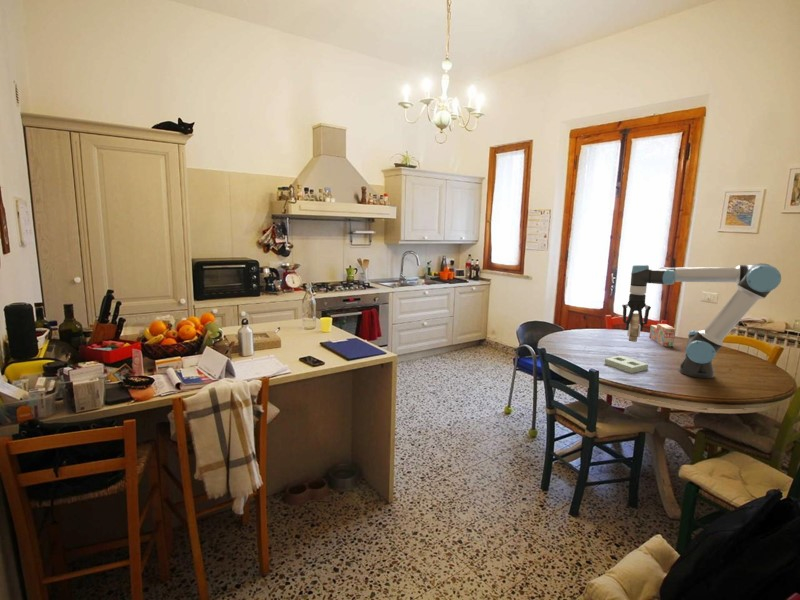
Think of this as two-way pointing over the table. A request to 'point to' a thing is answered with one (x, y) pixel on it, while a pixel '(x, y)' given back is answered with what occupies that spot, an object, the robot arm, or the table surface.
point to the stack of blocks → (662, 334)
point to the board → (626, 364)
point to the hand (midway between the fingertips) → (633, 336)
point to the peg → (634, 327)
